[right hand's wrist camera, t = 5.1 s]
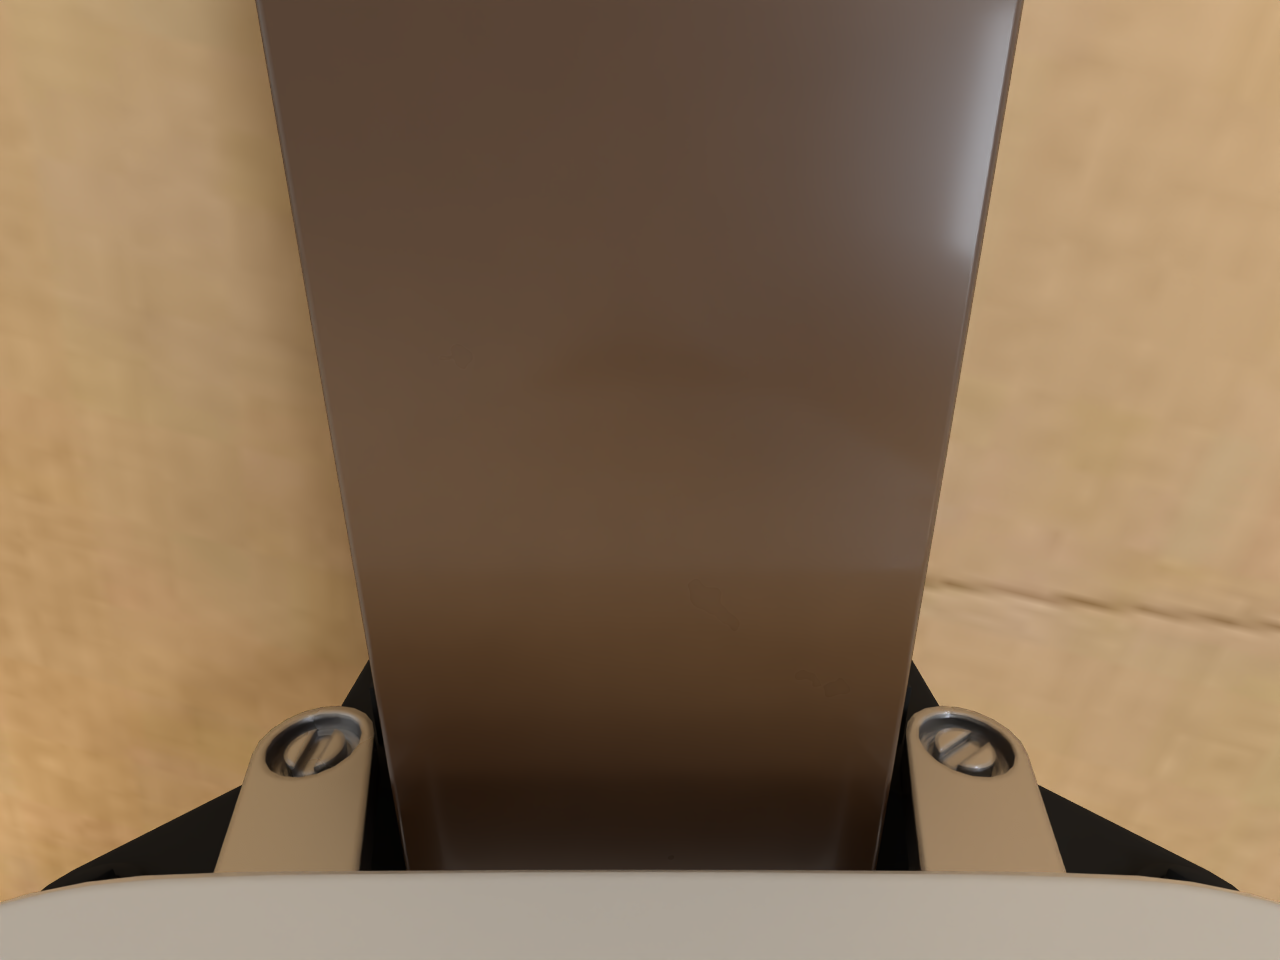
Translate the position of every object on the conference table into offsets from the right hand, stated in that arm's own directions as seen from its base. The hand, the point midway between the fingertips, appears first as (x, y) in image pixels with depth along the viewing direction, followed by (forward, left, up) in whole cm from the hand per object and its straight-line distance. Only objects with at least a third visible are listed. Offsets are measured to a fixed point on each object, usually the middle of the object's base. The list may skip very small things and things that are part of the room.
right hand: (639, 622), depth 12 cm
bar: (+19, -4, -3) cm, 19 cm away
